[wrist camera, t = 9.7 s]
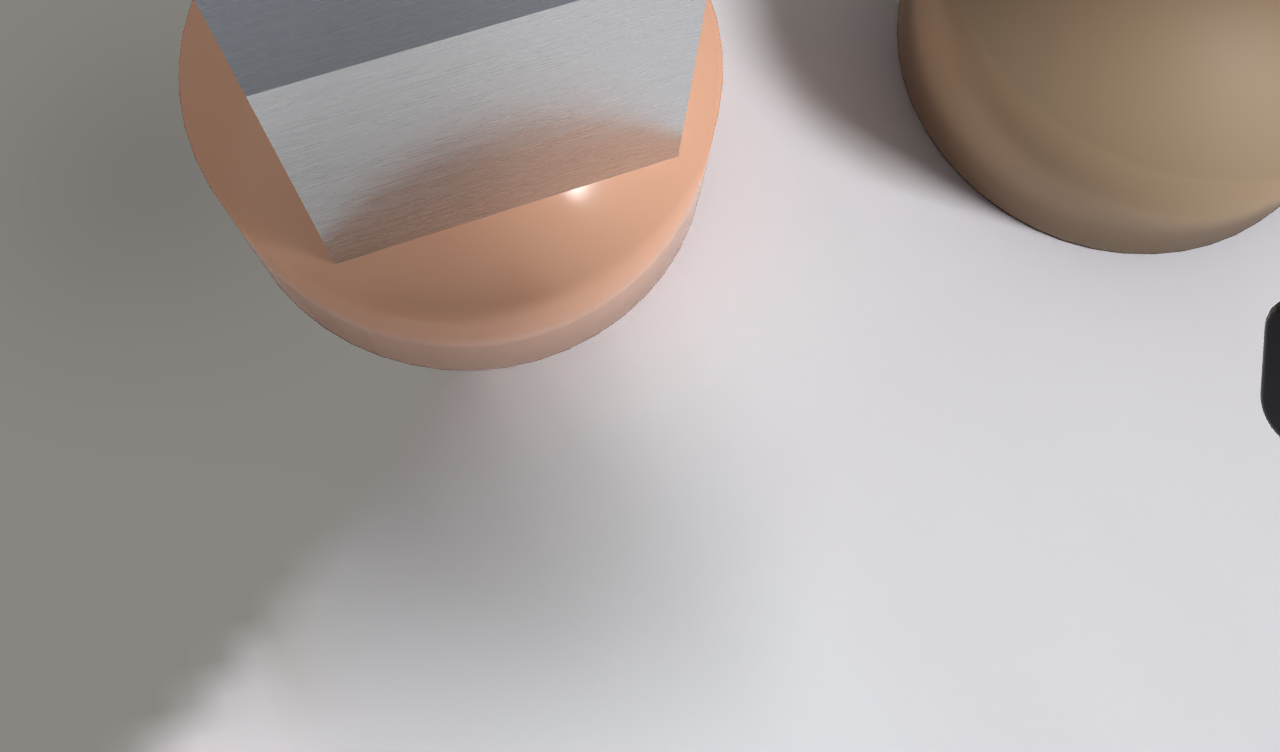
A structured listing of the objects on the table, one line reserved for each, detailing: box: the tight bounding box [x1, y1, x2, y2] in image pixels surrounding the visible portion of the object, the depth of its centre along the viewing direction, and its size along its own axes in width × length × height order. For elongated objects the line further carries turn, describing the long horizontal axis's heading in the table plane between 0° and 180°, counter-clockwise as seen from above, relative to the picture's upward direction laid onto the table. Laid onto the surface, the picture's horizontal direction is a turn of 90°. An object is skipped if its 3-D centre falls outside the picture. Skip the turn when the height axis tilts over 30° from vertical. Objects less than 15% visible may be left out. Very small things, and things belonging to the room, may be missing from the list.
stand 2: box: [897, 0, 1280, 254], centre depth 17 cm, size 7×7×2 cm
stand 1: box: [179, 0, 723, 370], centre depth 16 cm, size 7×7×2 cm
